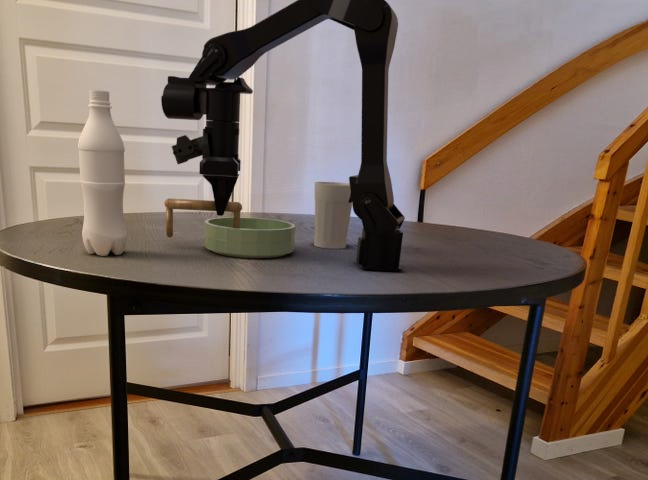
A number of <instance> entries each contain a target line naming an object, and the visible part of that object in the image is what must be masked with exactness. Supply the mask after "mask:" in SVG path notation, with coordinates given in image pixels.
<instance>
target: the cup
mask: <svg viewBox="0 0 648 480" xmlns="http://www.w3.org/2000/svg"><path fill="white" fill-rule="evenodd" d="M350 194H351V190H350V183H349V182H338V181H314V241H313V246H314V247H316V248H317V247H318V248H321V249H331V250H341V249H346V248H347V238H348V232H349V226H350V221H351V214H352V209H353V206H352V204H353V202H351V203H349V202H348V201H349V198H350Z"/></svg>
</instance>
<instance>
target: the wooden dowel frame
mask: <svg viewBox="0 0 648 480" xmlns="http://www.w3.org/2000/svg"><path fill="white" fill-rule="evenodd" d="M163 204H164V207H165V219H166V220H165V233H166V237H167V238H169V239H171V238H173V236H174V210H181V211H183V210H184V211H204V212H216V207H215V201H214V200H209V199H207V200H206V199H205V200H204V199H188V198H167V199H165V200H164V203H163ZM242 210H243V205H242V203H240V202H239V201H229V202H228V204H227V207H226V210H225V212H224V213H233V214H232V215H233V216H232V217H233V228H239V229H249V228H240V217H241V211H242ZM256 230H257V229H256Z"/></svg>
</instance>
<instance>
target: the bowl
mask: <svg viewBox="0 0 648 480" xmlns="http://www.w3.org/2000/svg"><path fill="white" fill-rule="evenodd" d="M240 228H249V229H239V228H233V216H226V217H223V216H222V217H213V218H209V219H208V218H207V219H205V221H204V239H203V241H204V242H203V243H204V244H203V245H204V246H203V247H204V248H206V249H207V250H210V251H211V252H212V253H215V254H218V255H221V256H225V257H232V258H245V259H273V258H280V257H284V256H286V255H287V254H291V253H293V252H294V251H295V240H296V239H295V237H296V225H295V224H294V223H293V222H292V223H291V222H288V221H284V220H279V219H271V218H262V217H261V218H260V217H247V216H246V217H245V216H242V217H241V216H240ZM256 229H257V230H256Z"/></svg>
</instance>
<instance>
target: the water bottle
mask: <svg viewBox="0 0 648 480" xmlns="http://www.w3.org/2000/svg"><path fill="white" fill-rule="evenodd" d="M88 95H89V96H88V97H89V101H88V105H87V108H89V112H88V117H87V120H86V122H85V124H84V126H83V128H82V131H81V133H80V135H79V139H78V143H77V150H78V161H79V162H78V163H79V182H80V187H81V190H82V191H81V192H82V198H83V224H82V230H81V236H82V237H81V238H82V243H83V246H84V248H85V250H86V252H87V253H88V254H90V255H93V254H96V255H98V256H100V257H107V256H108V255H109V254H110V251H111V252H112V253H113V254H114V255H115V256H119V255H122V254H123V252H124V251H125V248H126V246H127V241H128V232H127V228H126V223H125V216H124V192H125V186H126V177H125V176H126V174H125V151H126V150H125V145H124V144H125V143H124V141H123V139H122V136H121V134H120V132H119V130H118V128H117V126H116V125H115V121H113V117H112V113H111V109H112V106H111V102H110V91H106V90H95V89H91V90H89V91H88Z"/></svg>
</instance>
